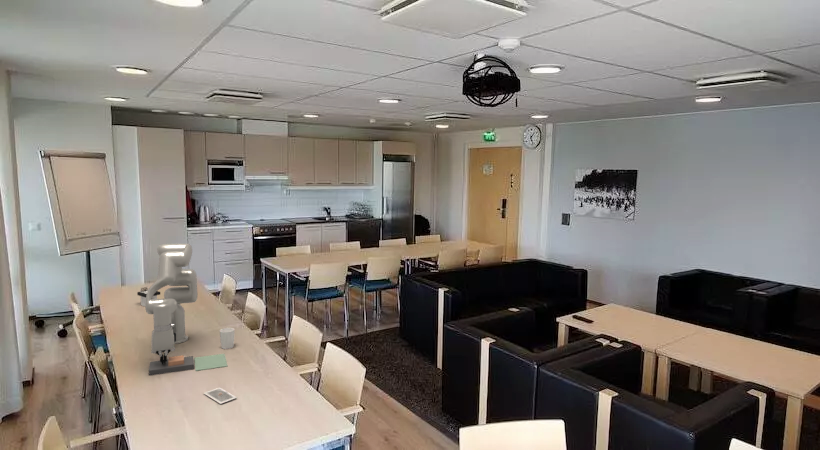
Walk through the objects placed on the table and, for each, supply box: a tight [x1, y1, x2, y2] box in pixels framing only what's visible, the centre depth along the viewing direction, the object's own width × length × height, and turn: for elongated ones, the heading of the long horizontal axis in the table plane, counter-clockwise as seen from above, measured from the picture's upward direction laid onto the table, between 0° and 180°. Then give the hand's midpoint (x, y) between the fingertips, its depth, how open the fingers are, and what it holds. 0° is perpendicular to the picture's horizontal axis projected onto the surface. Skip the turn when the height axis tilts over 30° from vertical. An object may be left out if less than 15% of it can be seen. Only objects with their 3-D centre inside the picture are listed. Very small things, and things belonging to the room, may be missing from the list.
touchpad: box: [203, 387, 238, 405], centre depth 211 cm, size 8×15×2 cm, turn 50°
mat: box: [193, 353, 228, 372], centre depth 248 cm, size 18×15×1 cm
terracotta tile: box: [167, 355, 185, 366], centre depth 241 cm, size 7×7×2 cm
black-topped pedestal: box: [137, 286, 161, 307], centre depth 349 cm, size 28×26×13 cm
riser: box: [148, 355, 195, 376], centre depth 240 cm, size 12×20×2 cm, turn 116°
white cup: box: [219, 327, 235, 350], centre depth 270 cm, size 8×8×10 cm
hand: (163, 363), depth 238 cm, fingers closed
